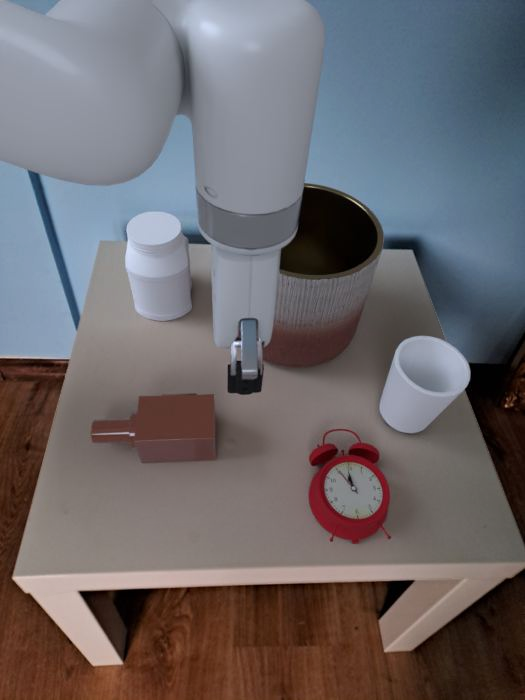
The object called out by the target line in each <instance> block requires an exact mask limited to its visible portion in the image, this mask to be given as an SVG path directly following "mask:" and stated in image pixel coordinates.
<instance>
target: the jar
mask: <svg viewBox="0 0 525 700" xmlns="http://www.w3.org/2000/svg"><path fill="white" fill-rule="evenodd" d="M125 229H126V230H125V231H126V236H127V243H126V251H125V256H124V262H125V263H124V264H125V270H126V273H127V276H128V282H129V285H130V291H131V293H132V298H133V304H134V310H135V312H136V313H137V314H139V315H140V316H142V317H144V318H146V319H148V320H150V321H156V322H166V321H173V320H176V319H177V320H178V319H179V318H181V317H183V316H185V315H187V314H188V313H189V312H191V311H192V310H193V301H192V296H191V290H192V288H193V281H192V272H191V261H190V250H189V248H190V247H189V246H190V245H189V243H190V242H189V238H188V237H187V236H186V235H184V234H183V227H182V223H181V221H180V220H179V219H178V217H176V216H175V215H173V214H171V213H170V212H169V213H168V212H164V211H158V210H154V211H146V212H143V213H142V212H141V213H139V214H137V215H136V216H134V217H133V218H131V219H130V220H129V221H128V223H127V224H126V228H125Z"/></svg>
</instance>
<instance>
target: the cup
mask: <svg viewBox="0 0 525 700" xmlns="http://www.w3.org/2000/svg"><path fill="white" fill-rule="evenodd" d="M470 381H471V367H470V364H469V361H468V360H467V359H466V357H465V356H464V355H463V353H461V351H459V349H458V348H457V347H455V346H453V345H452V344H451V343H449V342H448V341H446V340H444V339H442V338H439V337H434V336H431V335H415V336H411V337H409V338H405V339H404V340H403V341H402V342H400V344H399V345H398V346H397V348H396V349H395V353H394V354H393V358H392V361H391V365H390V368H389V371H388V374H387V378H386V381H385V384H384V387H383V390H382V394H381V397H380V400H379V406H378V407H379V413H380V415H381V417H382V419H383V422H384V423H385V425H386V426H387V427H390V428H392V429H394V430H395V431H397V432H401V433H404V434H406V435H414V434H416V433H420V432H421V431H424V430H425V429H426V428H427V427H429V425H430V424H432V422H433V421H434V420H435V419H436V418H437V417H439V415H441V413H443V412H444V411H445V409H446V408H448V407H449V406H450V405H451V404H452V403H453V401H455V400H456V399H457V398H458V397H459V396H460V395H461V394H462V393H463V392H464V390H465V389H466V388H467V387H468V385H469V383H470Z"/></svg>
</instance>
